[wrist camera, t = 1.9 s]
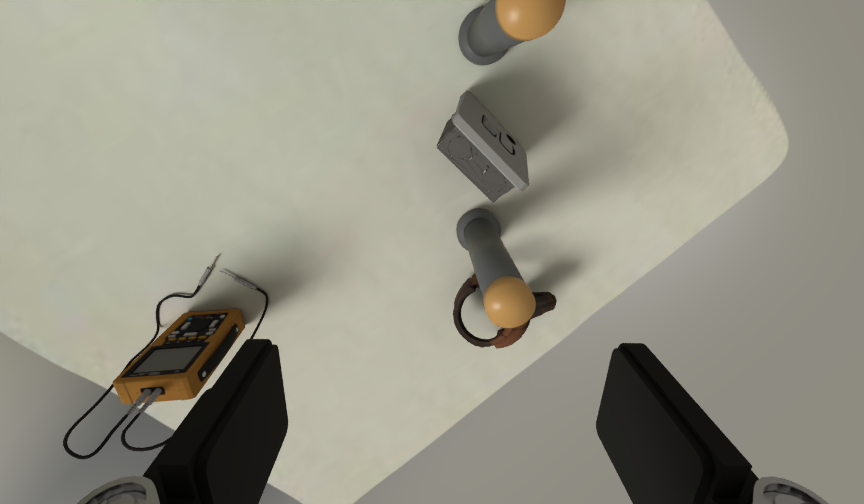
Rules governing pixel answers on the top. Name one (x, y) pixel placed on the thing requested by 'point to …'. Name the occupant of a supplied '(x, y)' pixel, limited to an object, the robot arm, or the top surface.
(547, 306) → the brown curved hollow piece
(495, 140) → the electrical switch
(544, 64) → the top surface
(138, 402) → the multimeter
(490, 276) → the post far
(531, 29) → the post near
